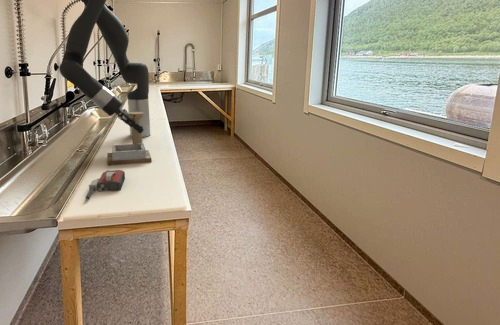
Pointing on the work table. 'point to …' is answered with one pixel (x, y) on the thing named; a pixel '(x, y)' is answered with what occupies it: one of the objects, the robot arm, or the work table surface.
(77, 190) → the work table surface
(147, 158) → the board
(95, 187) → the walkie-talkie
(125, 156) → the collar
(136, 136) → the handle
